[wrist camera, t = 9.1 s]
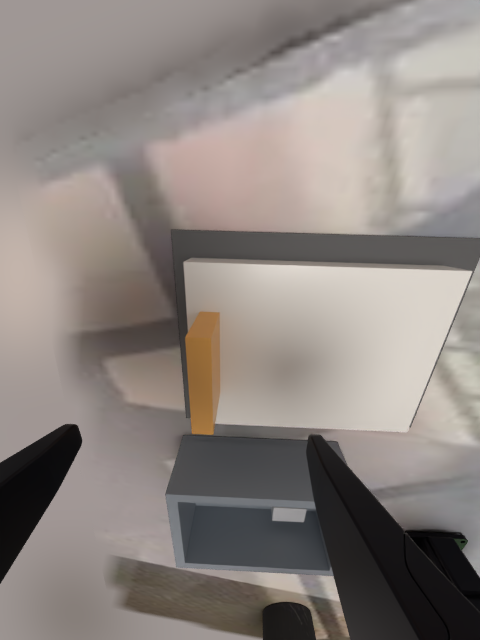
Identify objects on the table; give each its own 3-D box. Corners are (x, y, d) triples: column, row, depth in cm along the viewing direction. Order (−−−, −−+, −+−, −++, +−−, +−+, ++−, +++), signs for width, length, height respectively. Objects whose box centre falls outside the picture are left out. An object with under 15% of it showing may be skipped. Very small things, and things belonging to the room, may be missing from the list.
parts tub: (320, 509, 24) (337, 576, 20) (189, 503, 25) (176, 567, 20) (337, 442, 21) (363, 504, 16) (183, 435, 21) (165, 494, 16)
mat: (407, 423, 20) (410, 427, 19) (187, 414, 20) (186, 417, 20) (480, 238, 14) (487, 238, 14) (172, 229, 14) (170, 229, 14)
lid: (391, 412, 19) (445, 481, 14) (199, 403, 19) (181, 468, 14) (443, 265, 14) (552, 286, 9) (191, 257, 14) (161, 273, 9)
